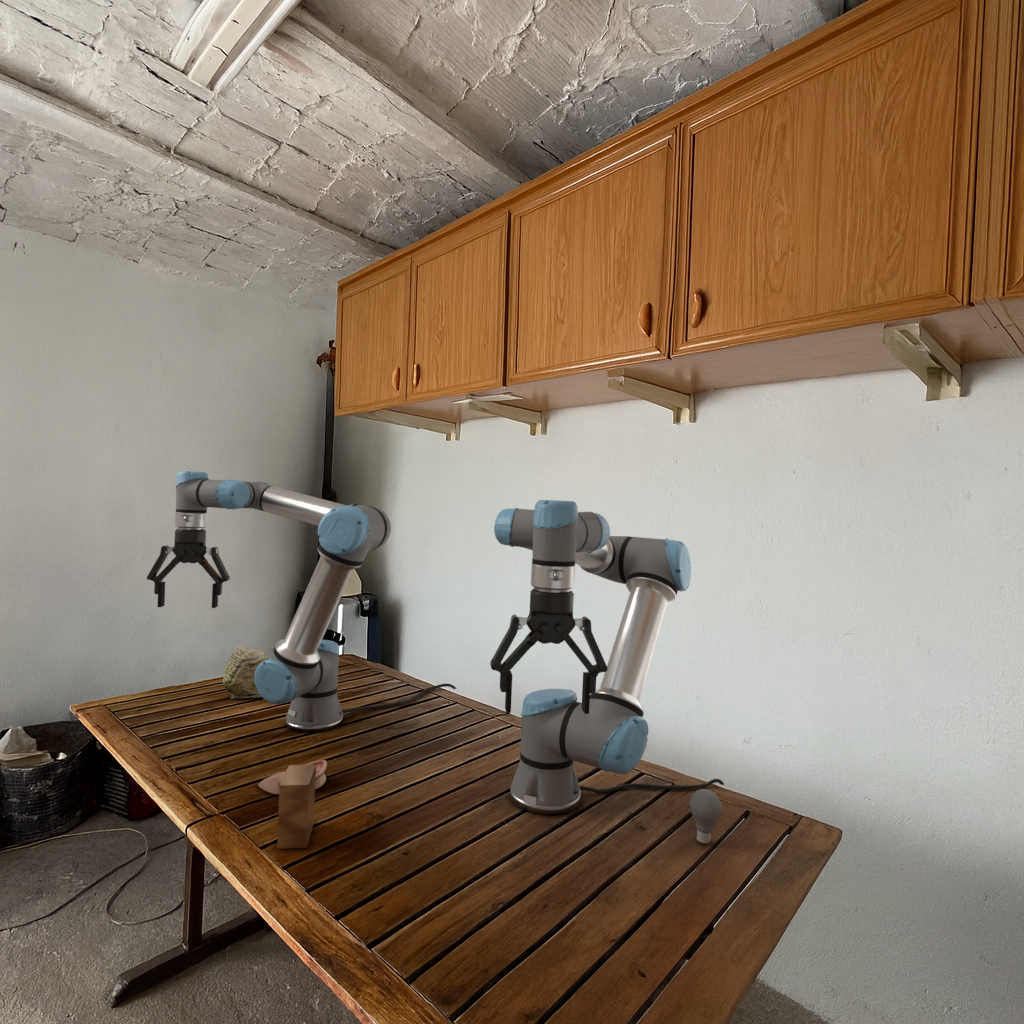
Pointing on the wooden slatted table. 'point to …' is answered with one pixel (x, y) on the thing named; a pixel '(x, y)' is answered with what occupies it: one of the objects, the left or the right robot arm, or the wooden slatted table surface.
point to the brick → (296, 806)
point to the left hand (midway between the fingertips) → (188, 607)
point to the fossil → (243, 672)
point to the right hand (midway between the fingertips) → (546, 711)
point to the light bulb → (705, 812)
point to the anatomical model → (275, 780)
